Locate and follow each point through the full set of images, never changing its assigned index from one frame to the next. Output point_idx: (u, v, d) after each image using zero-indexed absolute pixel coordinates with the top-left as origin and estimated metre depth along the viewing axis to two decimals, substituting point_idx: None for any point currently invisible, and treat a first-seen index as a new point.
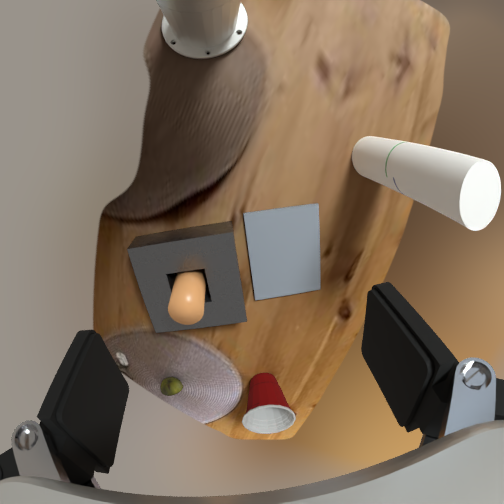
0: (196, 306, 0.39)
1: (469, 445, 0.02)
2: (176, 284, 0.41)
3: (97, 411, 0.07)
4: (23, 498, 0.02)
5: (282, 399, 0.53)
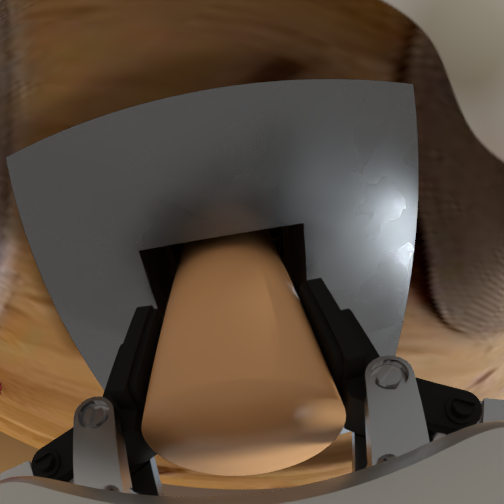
0: (270, 462, 0.07)
1: (469, 445, 0.02)
2: (296, 300, 0.09)
3: None
4: (23, 498, 0.02)
5: None
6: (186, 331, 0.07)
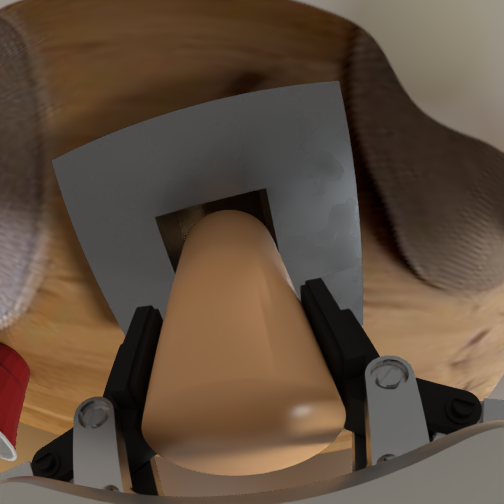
0: (270, 462, 0.07)
1: (469, 445, 0.02)
2: (296, 300, 0.09)
3: None
4: (23, 498, 0.02)
5: (16, 431, 0.18)
6: (186, 331, 0.07)
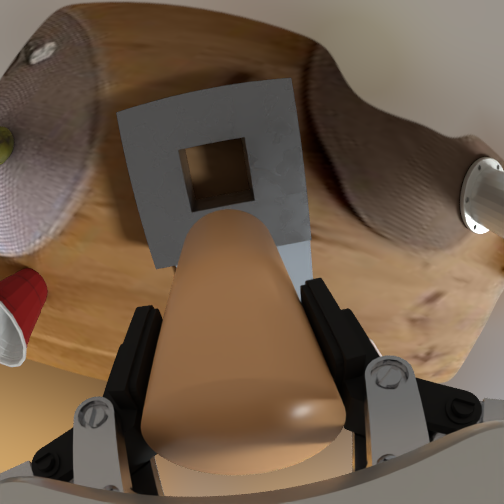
0: (270, 461, 0.07)
1: (469, 445, 0.02)
2: (296, 299, 0.09)
3: None
4: (23, 498, 0.02)
5: (29, 337, 0.27)
6: (186, 330, 0.07)
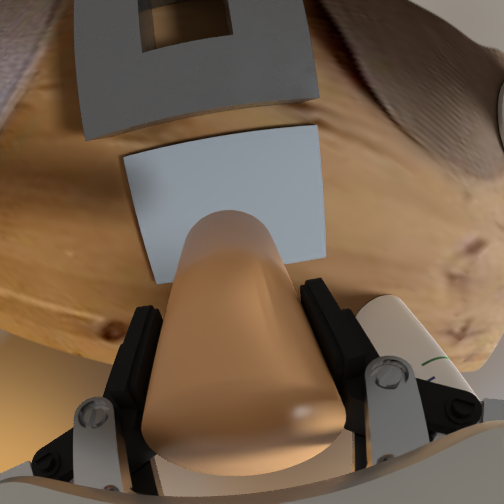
0: (270, 462, 0.07)
1: (469, 445, 0.02)
2: (296, 300, 0.09)
3: None
4: (23, 498, 0.02)
5: None
6: (186, 331, 0.07)
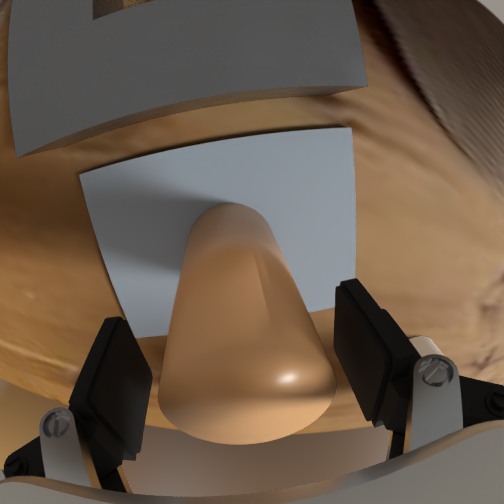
0: (271, 429, 0.08)
1: (469, 445, 0.02)
2: (292, 283, 0.10)
3: (126, 396, 0.07)
4: (23, 498, 0.02)
5: None
6: (197, 308, 0.08)
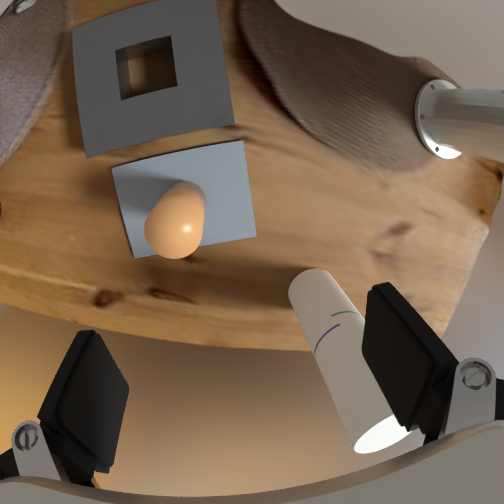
0: (182, 248, 0.24)
1: (469, 445, 0.02)
2: (196, 201, 0.27)
3: (97, 411, 0.07)
4: (23, 498, 0.02)
5: None
6: (159, 202, 0.24)
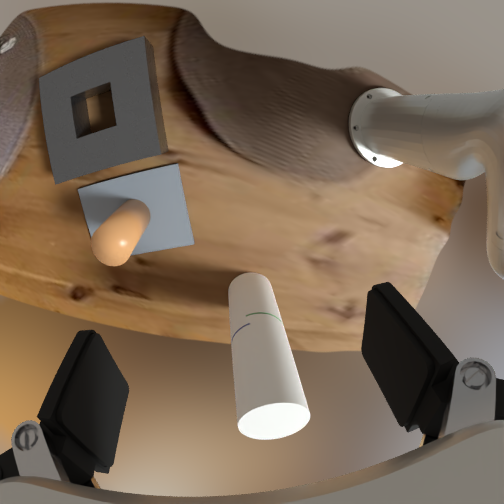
0: (118, 258, 0.30)
1: (469, 445, 0.02)
2: (132, 220, 0.33)
3: (97, 411, 0.07)
4: (23, 498, 0.02)
5: None
6: None
